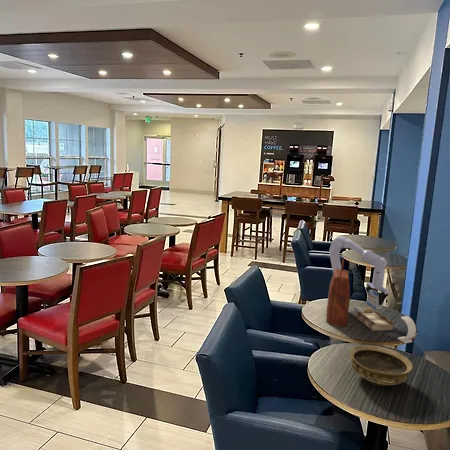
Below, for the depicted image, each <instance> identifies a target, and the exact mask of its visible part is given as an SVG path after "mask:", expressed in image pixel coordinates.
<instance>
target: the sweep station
mask: <svg viewBox="0 0 450 450" xmlns="http://www.w3.org/2000/svg"><path fill="white" fill-rule="evenodd" d="M349 312H350V314H351V315H352V316H354V317H355V318H356V319H357V320H358V321H360V322H361V324H362V323H363V324H364V325H365V326H366V327H368V329H370V330H371V331H393V330H394V322H393V321H392V320H391V319H389V318H388V317H386V316H385V315H383V314H382V313H381V312H379V311H378V310H377V311H376V310H375V312H373V313H361V312H360V311H358V314H357V313H356V312H354V309H350V311H349Z"/></svg>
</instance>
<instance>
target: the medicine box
mask: <svg viewBox="0 0 450 450" xmlns="http://www.w3.org/2000/svg"><path fill="white" fill-rule="evenodd" d="M378 293H381V292H380V291H378V290H376V289H374V290H369V292H368V295H367V299H366V305H368V307H371V308H372V309H373V308H374V309H375V310H378V309H379V310H380V309H381V310H382V309H383V305H379V294H378Z"/></svg>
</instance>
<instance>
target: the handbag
mask: <svg viewBox="0 0 450 450" xmlns="http://www.w3.org/2000/svg"><path fill="white" fill-rule="evenodd" d="M344 264H345V259H344V258H343V259H342V261H341V269H335V270H334V273H333V272H332V273H333V274H332V276H331V279H330V283H329V290H328V296H327V305H326V321H325V322H326V324H328V325H333V326H340V327H345V328H346V327H347V325H348V316H349V309H350V301H351V290H350V289H351V288H350V277H349V272H348V270H346V269H344V267H345V265H344Z"/></svg>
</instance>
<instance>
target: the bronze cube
mask: <svg viewBox="0 0 450 450" xmlns="http://www.w3.org/2000/svg"><path fill="white" fill-rule="evenodd" d="M362 308H363V309H364V313H374V309H373V307H371V306H363V307H362Z"/></svg>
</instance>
